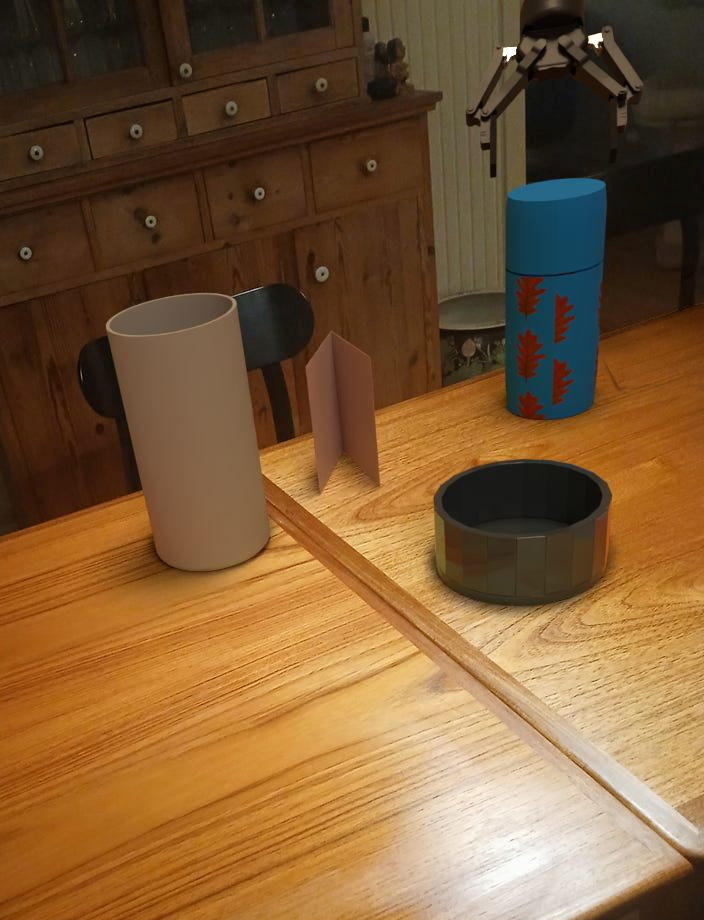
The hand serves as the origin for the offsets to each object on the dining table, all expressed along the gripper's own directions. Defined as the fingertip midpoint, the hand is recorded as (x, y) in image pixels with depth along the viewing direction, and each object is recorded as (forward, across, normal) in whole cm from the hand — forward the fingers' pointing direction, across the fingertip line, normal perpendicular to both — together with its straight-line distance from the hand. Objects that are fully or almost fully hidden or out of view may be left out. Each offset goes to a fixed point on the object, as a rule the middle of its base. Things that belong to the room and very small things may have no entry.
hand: (552, 164), depth 117 cm
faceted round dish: (+53, +4, +17) cm, 56 cm away
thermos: (+26, 0, -11) cm, 28 cm away
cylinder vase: (+50, +36, +13) cm, 63 cm away
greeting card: (+38, +22, +2) cm, 44 cm away
